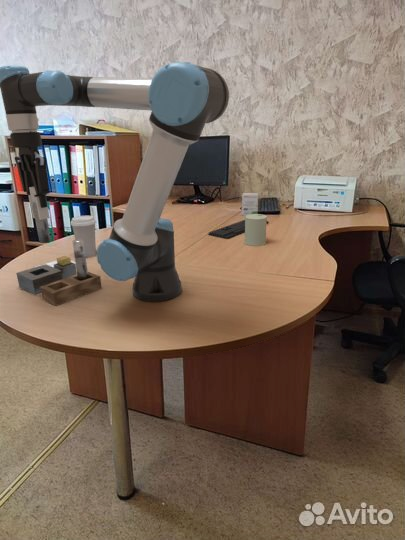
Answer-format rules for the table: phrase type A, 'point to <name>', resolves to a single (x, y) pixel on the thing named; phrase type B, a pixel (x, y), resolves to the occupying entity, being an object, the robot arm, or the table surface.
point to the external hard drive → (54, 263)
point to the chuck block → (43, 276)
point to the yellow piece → (63, 261)
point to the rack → (69, 288)
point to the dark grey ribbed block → (230, 230)
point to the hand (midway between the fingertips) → (41, 217)
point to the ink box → (249, 203)
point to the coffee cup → (85, 233)
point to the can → (255, 229)
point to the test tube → (80, 259)
